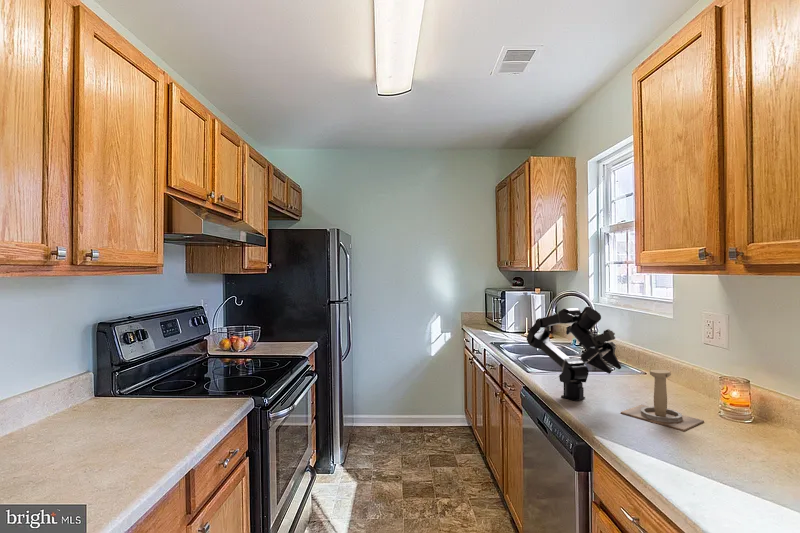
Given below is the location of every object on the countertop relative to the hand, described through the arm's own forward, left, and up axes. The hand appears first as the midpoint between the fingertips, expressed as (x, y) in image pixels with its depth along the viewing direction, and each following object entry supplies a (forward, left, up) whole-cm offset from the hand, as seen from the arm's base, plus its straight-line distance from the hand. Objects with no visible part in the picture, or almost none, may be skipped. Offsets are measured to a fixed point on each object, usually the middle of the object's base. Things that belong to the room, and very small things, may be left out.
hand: (615, 370), depth 156 cm
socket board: (+14, +4, -14) cm, 20 cm away
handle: (+13, +4, -13) cm, 19 cm away
